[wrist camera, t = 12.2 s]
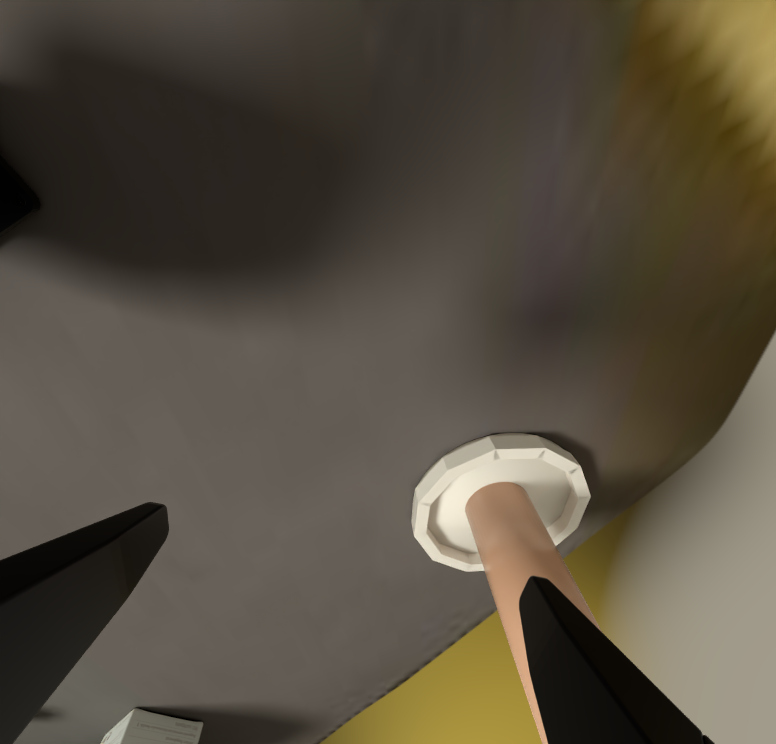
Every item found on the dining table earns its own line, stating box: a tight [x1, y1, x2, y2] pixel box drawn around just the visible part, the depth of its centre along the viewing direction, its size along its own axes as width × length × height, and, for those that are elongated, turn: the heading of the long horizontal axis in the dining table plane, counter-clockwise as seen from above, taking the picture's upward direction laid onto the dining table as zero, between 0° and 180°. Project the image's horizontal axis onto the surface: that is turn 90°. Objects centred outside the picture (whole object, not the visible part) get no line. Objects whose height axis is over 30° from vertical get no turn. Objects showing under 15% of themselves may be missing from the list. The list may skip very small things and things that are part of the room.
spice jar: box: [465, 482, 602, 744], centre depth 20 cm, size 4×4×13 cm
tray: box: [412, 433, 591, 572], centre depth 26 cm, size 12×12×2 cm
